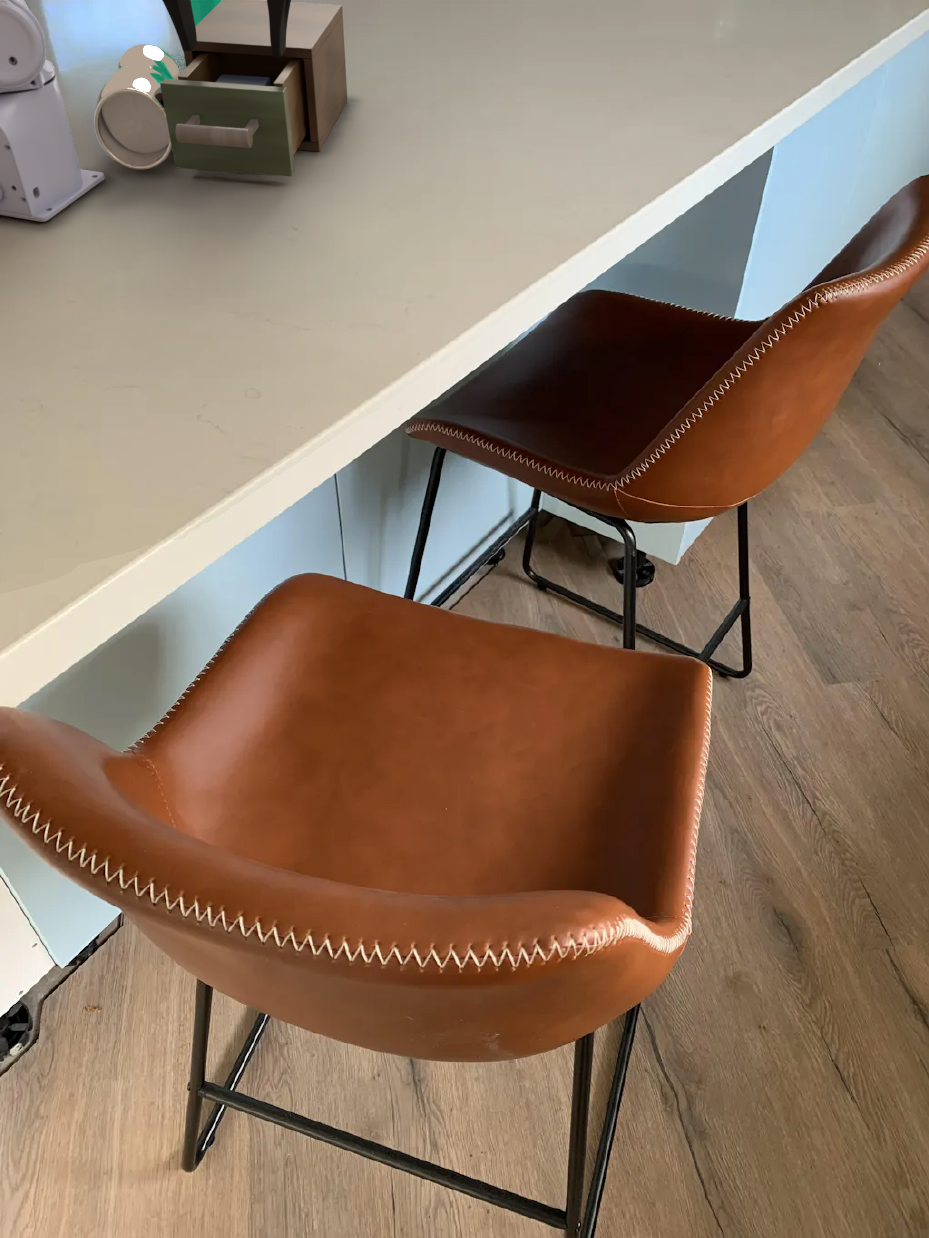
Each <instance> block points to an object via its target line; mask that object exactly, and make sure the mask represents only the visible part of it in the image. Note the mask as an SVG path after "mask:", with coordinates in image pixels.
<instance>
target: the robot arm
mask: <svg viewBox="0 0 929 1238" xmlns="http://www.w3.org/2000/svg"><path fill="white" fill-rule="evenodd" d="M291 2H292V0H267V5H268V11H269V24H270V41H271V49H272V55H273V56H275V57H281V56H282V55H283V53H284V52H285V50H286V31H287V22H288V14H289V9H290V3H291ZM162 3H163V5H164V7H165V9H166V11H167V13H168V15H169V18H170V20H171V22H172V24H173V26H174V30H175V32H176V35H177V37H178V40H179V44H180V46H181V49H182V52H183V51H191V50H192V49H193V48H194V47H195V46H196V45H197V36H196V27H195V22H194V16H193V11H192V6H191V0H162ZM105 179H106V177H105V173H104V172H101V171H97V170H96V171H95V170H89V169H84V168H83V169H82V168H81V165H80V162H79V158H78V153H77V150H76V146H75V142H74V138H73V135H72V131H71V127H70V123H69V119H68V114H67V111H66V107H65V103H64V100H63V96H62V92H61V88H60V83H59V80H58V76H57V73H56V69H55V65H54V64H53V62H52V61H50V60H49V59H47V42H46V37H45V32H44V30H43V28H42V26H41V24H40V22H39V20H38V19H37V17H36V16H35V14H34V13H33V12H32V10H31V9H30V7H29V3H28V0H0V216H4V217H10V218H15V219H16V218H17V219H22V220H28V221H35V222H40V223H45V222H47V221H49V220H50V219H52V218H53V217H55V216H56V215H58V214H59V213H60V212H61V211H63V210H64V209H66V208H67V207H68V206H70V205H71V204H73V203H74V202H75V201H77V200H79V198H81V197H82V196H84V195H85V194H87V192H89V191H91V190H92V189H93V188H95V187H96V186H97V185H98V184H100V183H101V182H103V181H104V180H105Z"/></svg>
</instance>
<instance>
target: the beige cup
mask: <svg viewBox="0 0 929 1238" xmlns="http://www.w3.org/2000/svg"><path fill="white" fill-rule="evenodd" d="M181 73H182V71H181V69H180V68H179V65H178V64H177V62H176V61H175V59H174V58H173V57H172V56H171V54H169V53H168V52H166V51H165V50H164V49H162V48H161V47H158V46H155V45H152V44H148V43H147V44H146V43H143V44H136V45H134V46H131V47H130V48H128V49H126V50H125V51H124V52H123V54H122V55H121V57H120V59H119V61H118V64H117V70H116V71H115V72H113V73H112V74H111V75H110V76H109V77H108V78H107V79H106V80H105V82H104V83H103V85H102V87H101V89H100V91H99V94H98V97H97V100H96V104H95V109H94V114H93V129H94V133H95V136H96V140H97V141H98V143H99V145H100V147H101V148H102V150H103V151H104V153H105V154H106V155H107V156H108V157H109V158H110V159H112V160H113V161H114V162H116V163H117V164H119V165H120V166H123V167H125V168H127V169H131V170H136V171H147V170H152V169H154V168H156V167H159V166H160V165H161V164H163V163H164V162H165V161H166V160H167V159H168V157H170V154H171V152H172V146H171V140H170V135H169V130H168V124H167V119H166V114H165V108H164V103H163V98H162V92H161V87H160V83H161V82H162V81H163V80H164V79H174V80H178V76H179V75H180V74H181Z"/></svg>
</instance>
